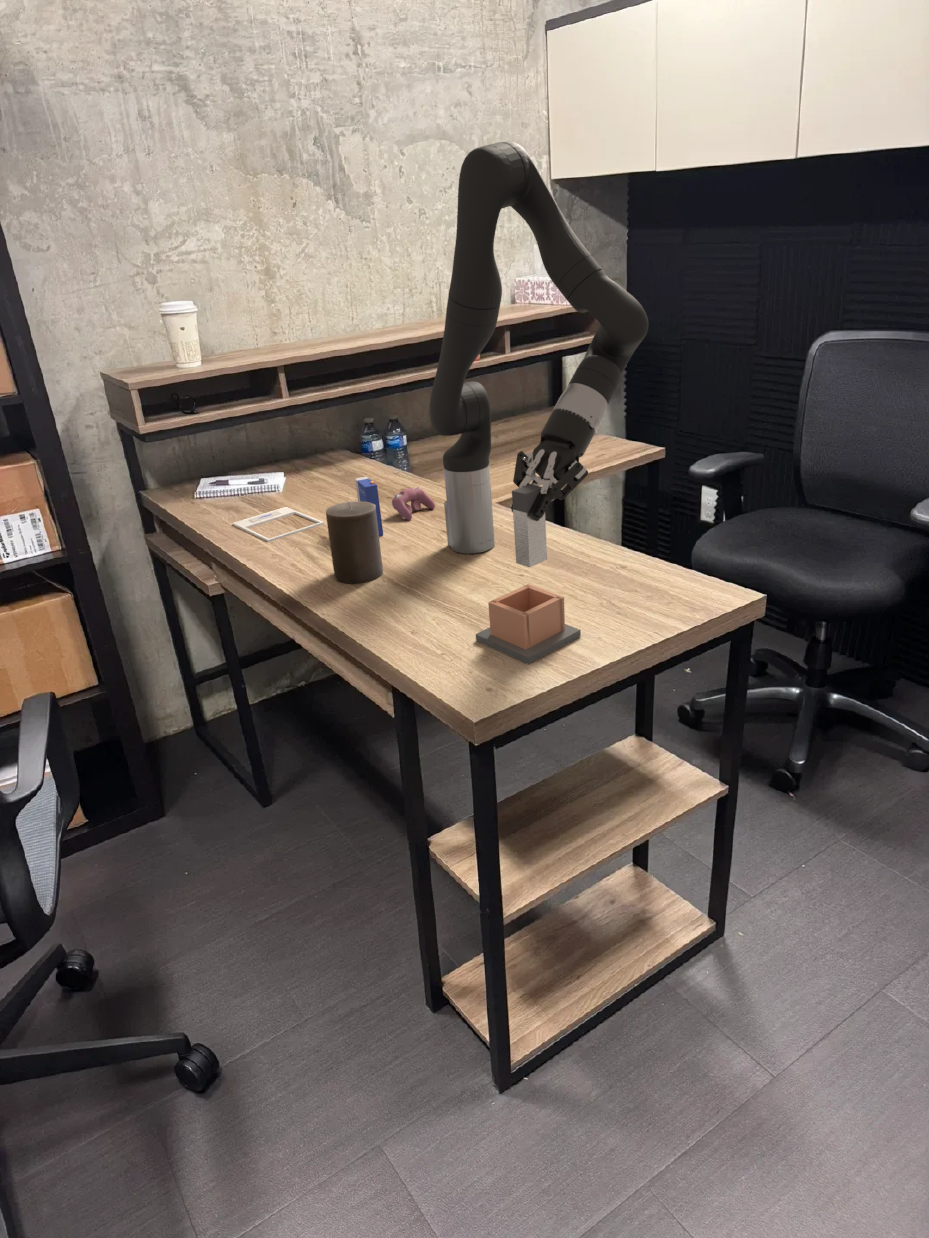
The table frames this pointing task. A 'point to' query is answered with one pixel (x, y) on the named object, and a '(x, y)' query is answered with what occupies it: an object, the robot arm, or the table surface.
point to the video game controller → (416, 499)
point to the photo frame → (270, 517)
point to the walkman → (369, 497)
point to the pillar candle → (354, 542)
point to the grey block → (528, 528)
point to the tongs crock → (527, 624)
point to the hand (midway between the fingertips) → (524, 515)
